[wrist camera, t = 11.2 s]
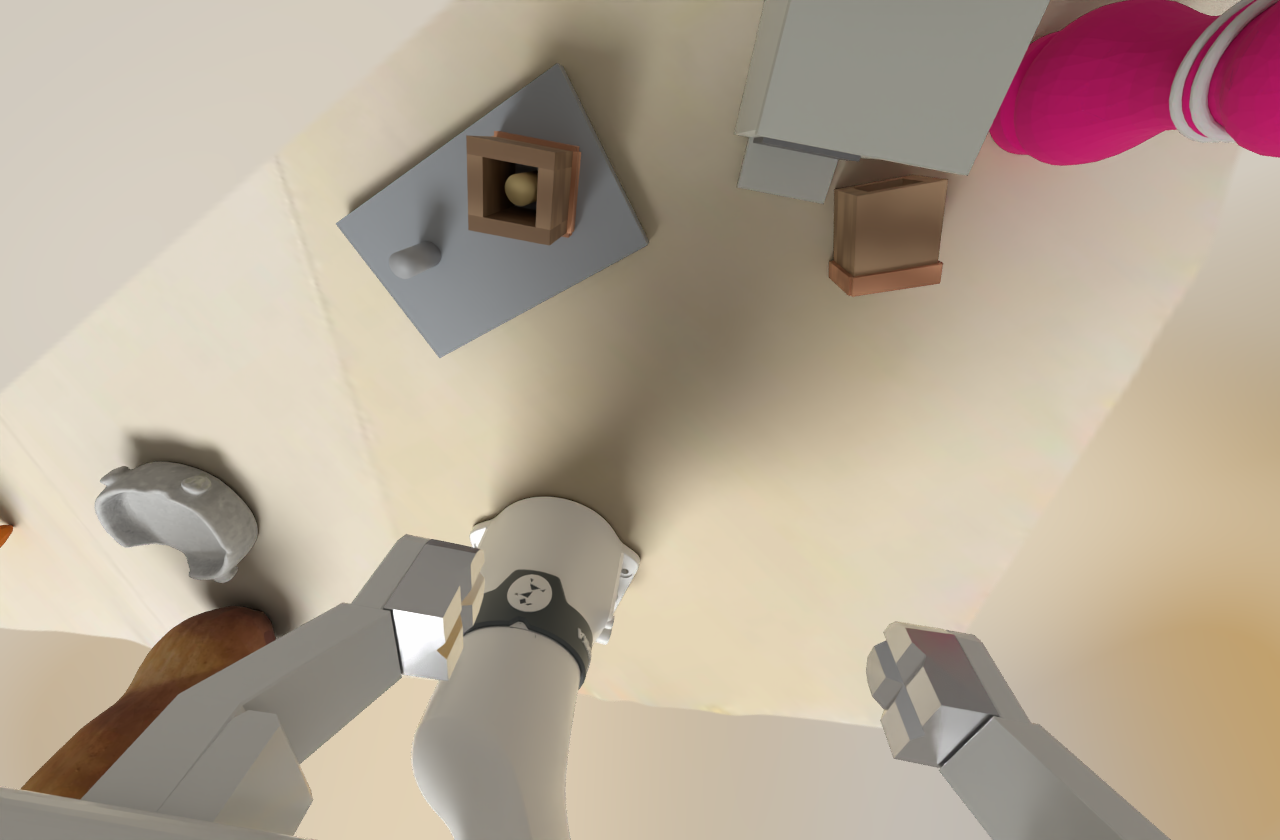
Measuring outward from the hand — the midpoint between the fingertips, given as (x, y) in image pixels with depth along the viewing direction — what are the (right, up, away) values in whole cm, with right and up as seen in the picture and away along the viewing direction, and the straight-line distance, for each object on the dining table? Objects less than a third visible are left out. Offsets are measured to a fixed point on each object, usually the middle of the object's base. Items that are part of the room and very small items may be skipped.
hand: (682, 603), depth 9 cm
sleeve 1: (-8, +20, +23) cm, 31 cm away
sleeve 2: (+16, +17, +24) cm, 33 cm away
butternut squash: (-53, -24, +55) cm, 80 cm away
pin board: (-12, +18, +26) cm, 34 cm away
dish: (-51, -6, +45) cm, 68 cm away
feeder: (+10, +24, +21) cm, 33 cm away
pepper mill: (+24, +24, +20) cm, 39 cm away
